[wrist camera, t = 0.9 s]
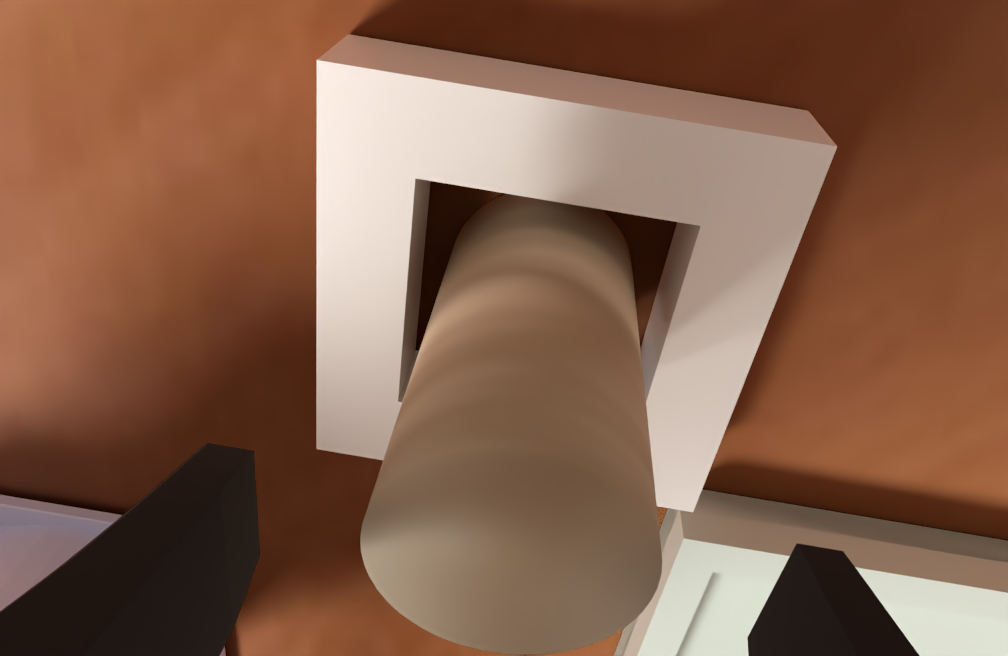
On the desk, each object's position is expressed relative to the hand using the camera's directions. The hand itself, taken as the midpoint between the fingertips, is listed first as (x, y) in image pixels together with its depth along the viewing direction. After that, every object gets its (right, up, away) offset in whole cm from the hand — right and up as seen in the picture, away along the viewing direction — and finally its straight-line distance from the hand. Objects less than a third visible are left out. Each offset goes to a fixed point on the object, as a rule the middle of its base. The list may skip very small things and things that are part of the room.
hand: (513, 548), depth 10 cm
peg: (+1, +4, +7) cm, 8 cm away
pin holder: (+1, +4, +7) cm, 8 cm away
